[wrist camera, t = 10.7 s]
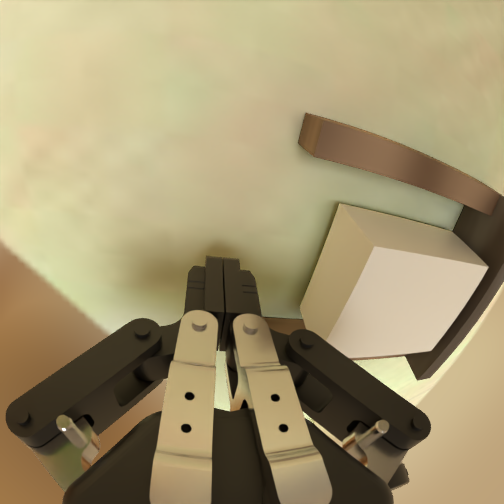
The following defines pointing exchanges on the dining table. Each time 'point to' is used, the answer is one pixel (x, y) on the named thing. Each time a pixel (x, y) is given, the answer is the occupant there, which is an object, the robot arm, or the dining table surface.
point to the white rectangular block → (388, 284)
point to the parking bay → (432, 179)
